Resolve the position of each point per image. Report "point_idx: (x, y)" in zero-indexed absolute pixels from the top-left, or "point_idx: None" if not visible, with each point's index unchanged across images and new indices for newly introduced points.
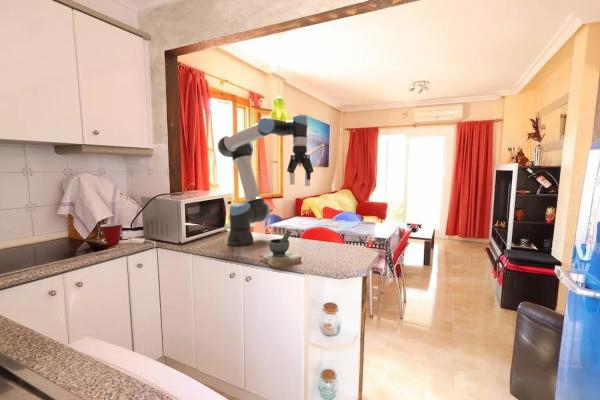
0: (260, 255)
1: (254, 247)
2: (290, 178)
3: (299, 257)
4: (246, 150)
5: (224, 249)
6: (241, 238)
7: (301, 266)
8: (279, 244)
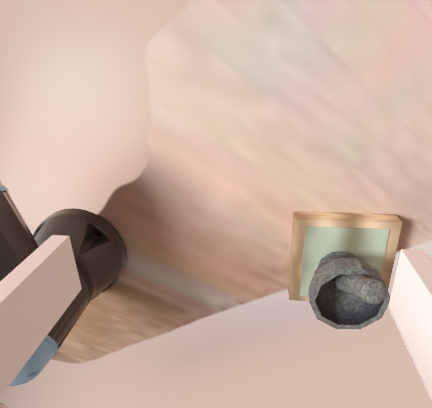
0: (289, 298)
1: (157, 240)
2: (29, 350)
3: (400, 228)
4: None
5: (133, 311)
6: (111, 278)
7: (429, 239)
8: (380, 316)
